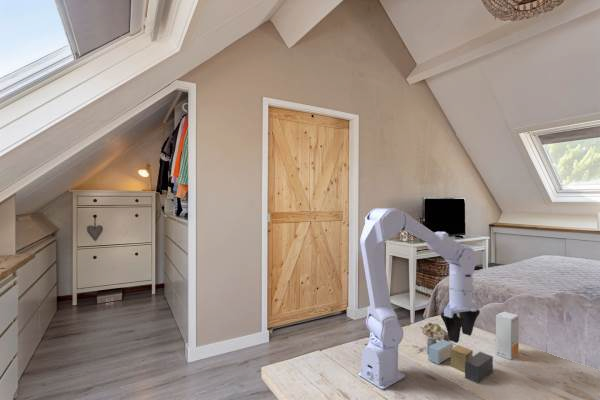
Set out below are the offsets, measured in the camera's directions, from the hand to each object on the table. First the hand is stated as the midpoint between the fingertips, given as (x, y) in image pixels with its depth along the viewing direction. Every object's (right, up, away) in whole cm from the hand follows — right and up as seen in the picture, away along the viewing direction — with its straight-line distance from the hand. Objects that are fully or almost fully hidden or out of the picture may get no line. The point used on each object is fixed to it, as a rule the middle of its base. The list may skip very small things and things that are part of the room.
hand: (460, 337), depth 84 cm
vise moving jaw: (-4, -8, +5) cm, 10 cm away
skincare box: (+18, -9, +7) cm, 21 cm away
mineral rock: (+3, -9, +21) cm, 23 cm away
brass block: (0, -8, 0) cm, 8 cm away
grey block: (+3, -8, -4) cm, 9 cm away
